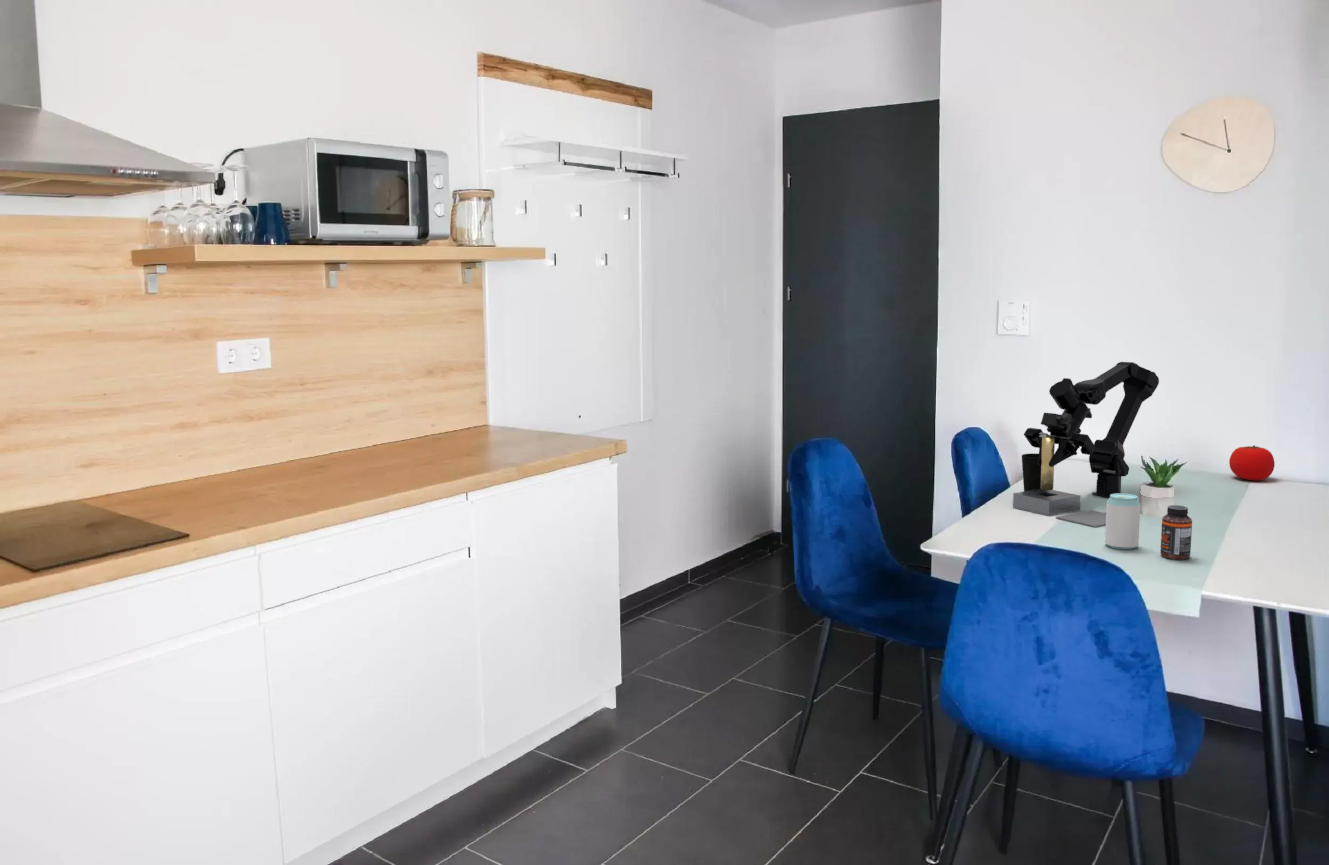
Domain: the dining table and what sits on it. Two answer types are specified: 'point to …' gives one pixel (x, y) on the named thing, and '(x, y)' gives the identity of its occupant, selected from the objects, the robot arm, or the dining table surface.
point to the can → (1122, 521)
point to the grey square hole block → (1046, 501)
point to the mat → (1086, 518)
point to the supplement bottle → (1176, 533)
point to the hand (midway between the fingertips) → (1044, 465)
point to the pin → (1047, 463)
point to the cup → (1031, 472)
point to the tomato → (1252, 463)
